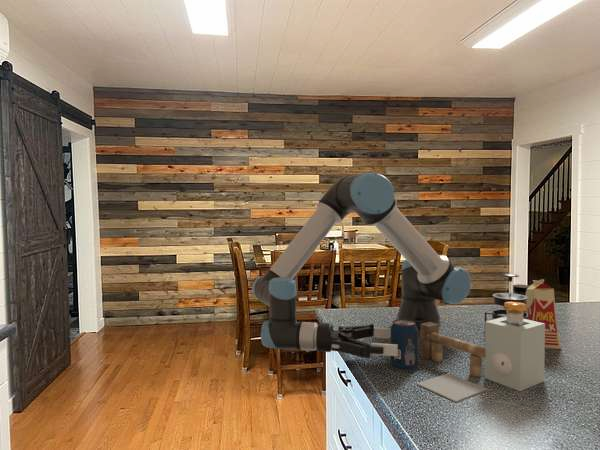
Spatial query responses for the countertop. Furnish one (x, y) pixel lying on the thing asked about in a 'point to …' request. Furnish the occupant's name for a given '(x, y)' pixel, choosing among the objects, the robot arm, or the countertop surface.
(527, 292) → the milk carton
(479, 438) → the countertop surface
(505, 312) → the french press
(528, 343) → the cabinet
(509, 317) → the gauge knob
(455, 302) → the robot arm
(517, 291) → the supplement container
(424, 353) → the handrail
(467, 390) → the mat
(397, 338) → the soda can
